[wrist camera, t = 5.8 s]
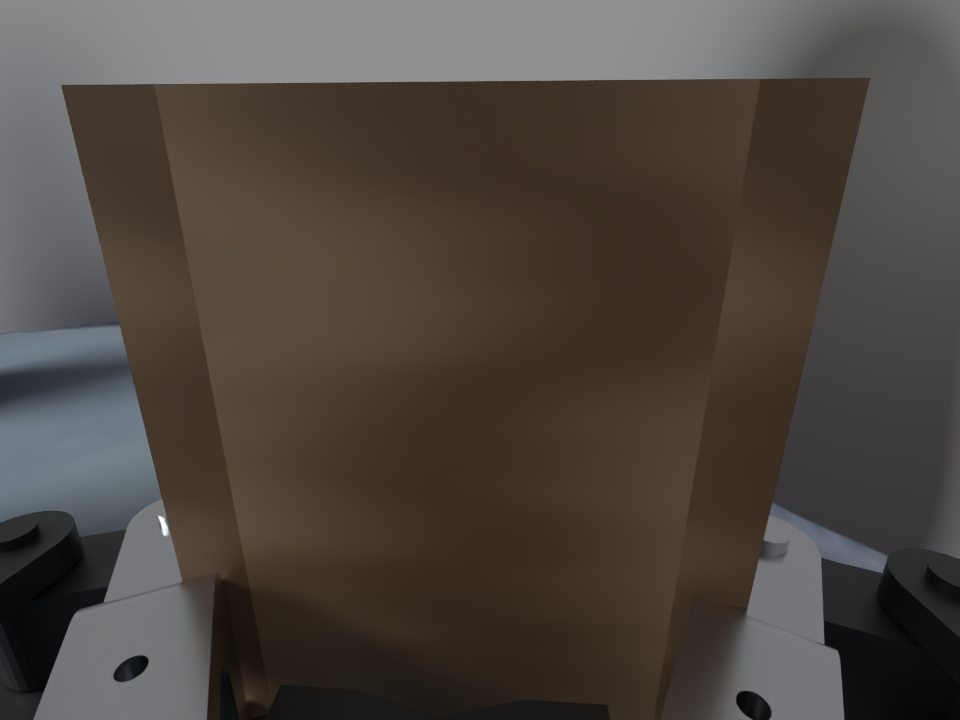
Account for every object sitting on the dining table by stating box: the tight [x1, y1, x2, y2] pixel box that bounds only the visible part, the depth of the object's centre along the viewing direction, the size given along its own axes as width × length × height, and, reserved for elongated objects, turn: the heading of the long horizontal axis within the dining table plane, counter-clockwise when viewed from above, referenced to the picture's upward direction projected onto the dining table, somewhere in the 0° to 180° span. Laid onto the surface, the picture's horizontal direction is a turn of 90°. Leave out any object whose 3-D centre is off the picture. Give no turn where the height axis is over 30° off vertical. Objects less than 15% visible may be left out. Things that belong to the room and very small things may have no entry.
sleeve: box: [62, 78, 870, 720], centre depth 9 cm, size 6×6×14 cm
